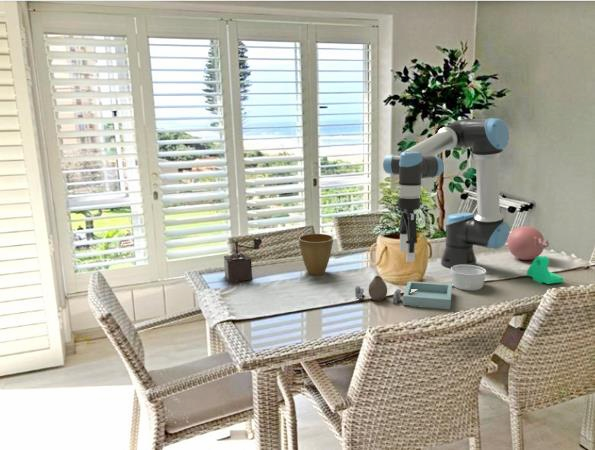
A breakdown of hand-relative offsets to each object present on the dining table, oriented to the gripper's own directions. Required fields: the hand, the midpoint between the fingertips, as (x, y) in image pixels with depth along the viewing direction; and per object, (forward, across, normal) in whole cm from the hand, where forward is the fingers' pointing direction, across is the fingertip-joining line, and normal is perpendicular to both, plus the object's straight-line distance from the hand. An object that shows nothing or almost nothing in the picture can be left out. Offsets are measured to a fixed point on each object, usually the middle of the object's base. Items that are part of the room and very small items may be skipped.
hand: (406, 256), depth 180 cm
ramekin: (+17, -19, +28) cm, 38 cm away
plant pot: (+18, -40, -31) cm, 54 cm away
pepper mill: (+20, -36, -63) cm, 75 cm away
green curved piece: (+16, -24, +60) cm, 67 cm away
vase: (+19, -7, -9) cm, 22 cm away
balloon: (+15, -50, +65) cm, 83 cm away
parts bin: (+18, -6, +10) cm, 21 cm away
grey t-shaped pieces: (+18, -7, -9) cm, 22 cm away
